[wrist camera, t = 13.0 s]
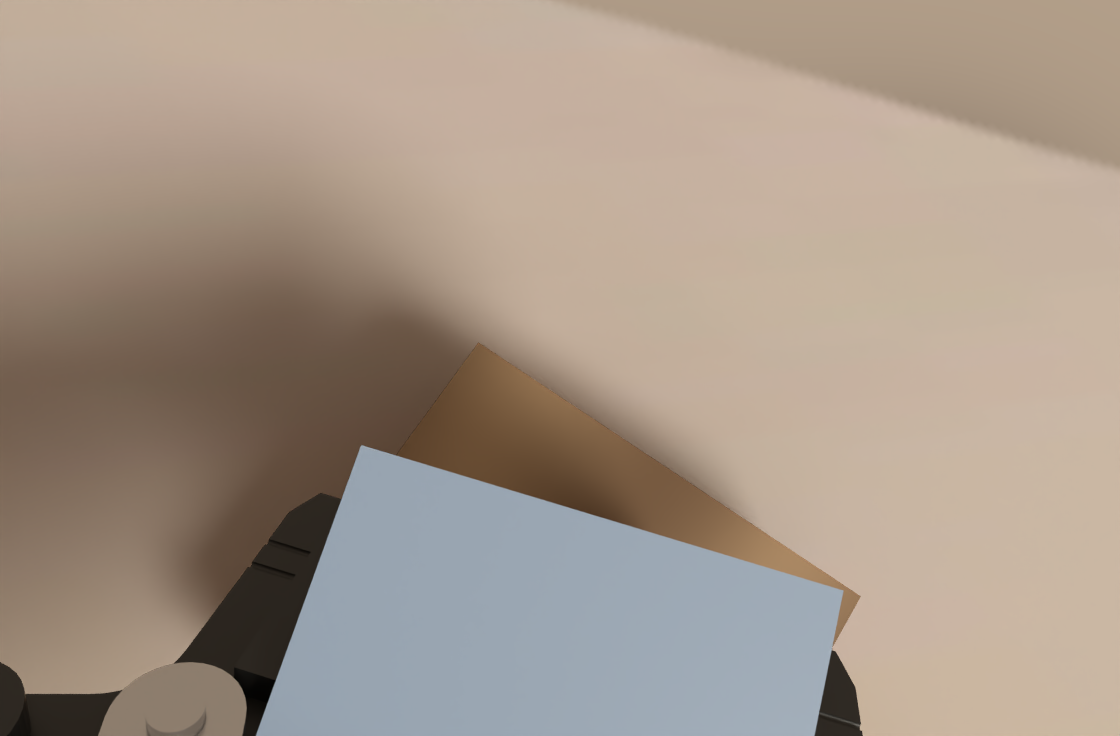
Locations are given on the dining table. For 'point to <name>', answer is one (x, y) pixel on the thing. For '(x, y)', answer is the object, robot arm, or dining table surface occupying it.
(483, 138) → the dining table surface
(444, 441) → the walnut block
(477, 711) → the slate-blue block
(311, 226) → the dining table surface
